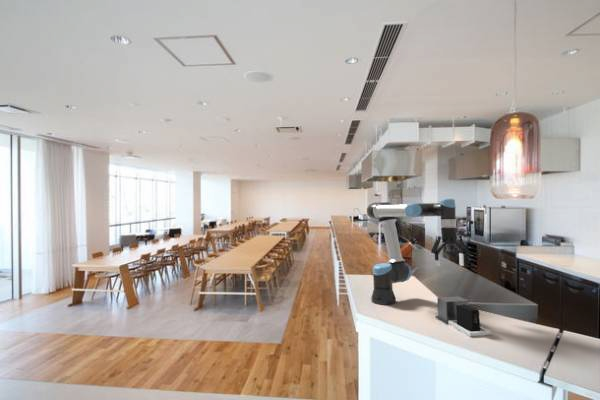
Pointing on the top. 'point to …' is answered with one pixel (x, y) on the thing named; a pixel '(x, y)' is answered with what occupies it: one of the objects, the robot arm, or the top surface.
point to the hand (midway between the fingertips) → (450, 265)
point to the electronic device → (468, 317)
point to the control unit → (449, 308)
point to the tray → (470, 334)
